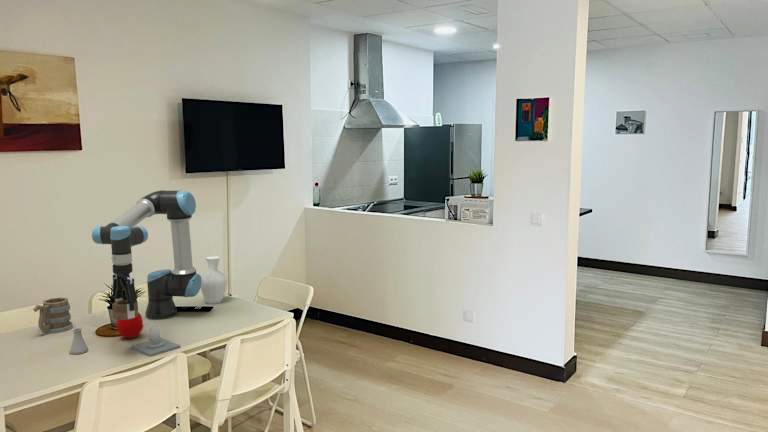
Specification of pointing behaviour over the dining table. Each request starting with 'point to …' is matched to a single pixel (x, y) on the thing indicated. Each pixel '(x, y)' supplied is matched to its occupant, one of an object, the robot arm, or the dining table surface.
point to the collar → (122, 309)
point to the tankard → (54, 315)
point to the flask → (78, 343)
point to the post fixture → (155, 343)
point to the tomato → (130, 326)
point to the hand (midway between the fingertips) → (125, 315)
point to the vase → (213, 282)
